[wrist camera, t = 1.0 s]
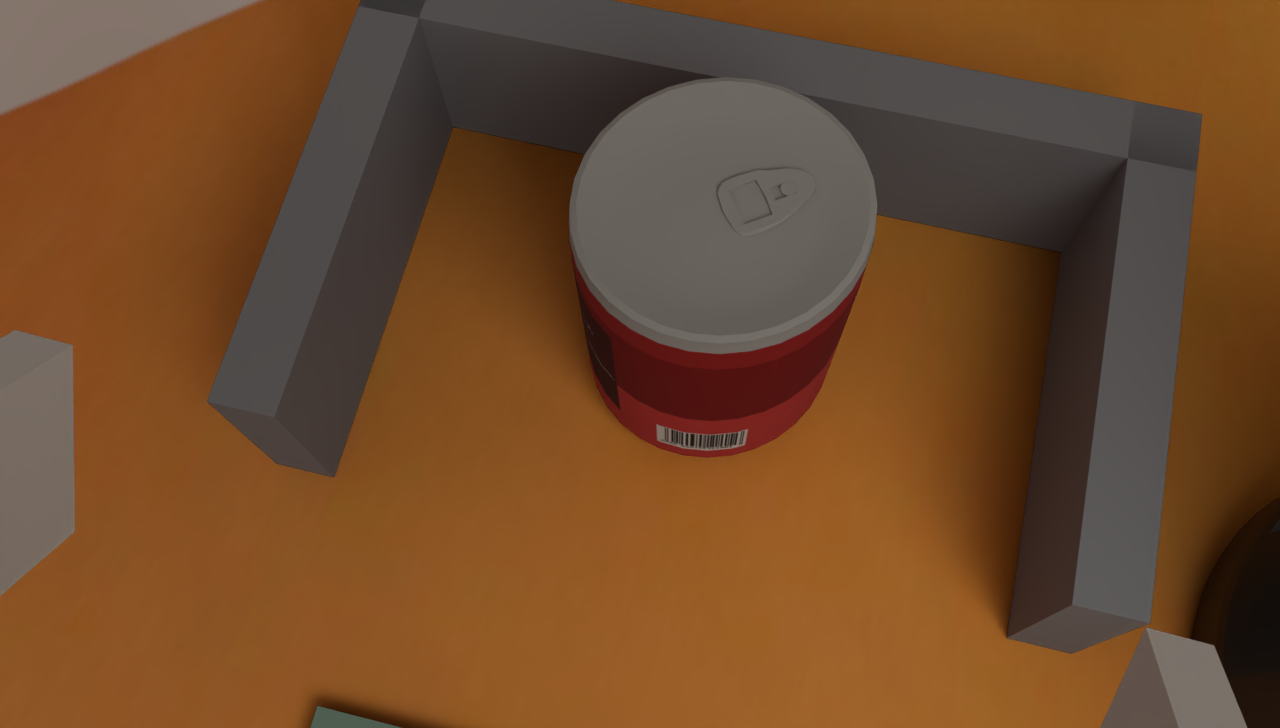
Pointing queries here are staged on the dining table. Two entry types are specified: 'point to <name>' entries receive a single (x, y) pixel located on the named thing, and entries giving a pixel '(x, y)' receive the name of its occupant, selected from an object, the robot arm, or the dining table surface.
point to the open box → (905, 189)
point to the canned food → (718, 260)
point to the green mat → (343, 720)
